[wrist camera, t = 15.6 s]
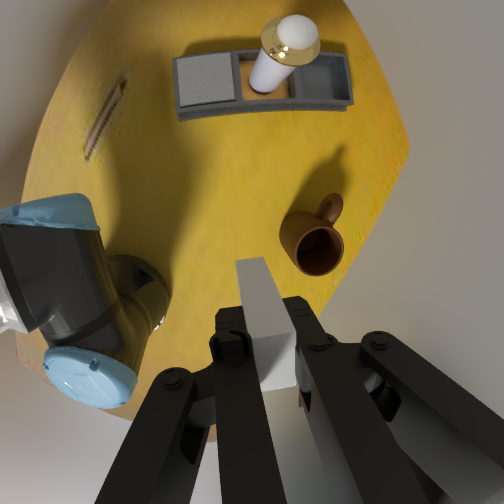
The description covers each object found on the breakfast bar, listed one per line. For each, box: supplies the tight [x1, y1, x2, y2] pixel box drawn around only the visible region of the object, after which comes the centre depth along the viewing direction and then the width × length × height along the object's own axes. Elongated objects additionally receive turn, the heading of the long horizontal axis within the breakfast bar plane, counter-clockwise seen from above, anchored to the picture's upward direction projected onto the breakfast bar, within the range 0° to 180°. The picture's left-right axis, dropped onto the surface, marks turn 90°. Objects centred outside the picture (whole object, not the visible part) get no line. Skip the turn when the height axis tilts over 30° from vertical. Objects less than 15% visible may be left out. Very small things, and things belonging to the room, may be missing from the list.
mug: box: [279, 193, 344, 276], centre depth 40 cm, size 12×8×9 cm, turn 158°
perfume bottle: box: [249, 15, 320, 93], centre depth 25 cm, size 6×6×20 cm
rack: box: [172, 49, 354, 121], centre depth 33 cm, size 26×10×5 cm, turn 96°
